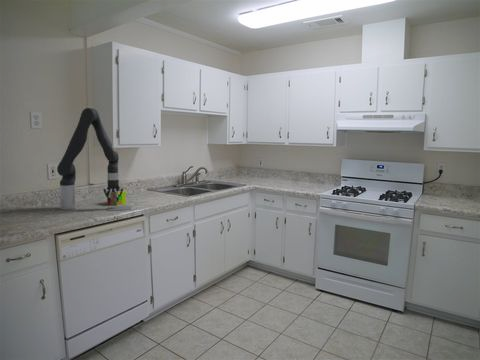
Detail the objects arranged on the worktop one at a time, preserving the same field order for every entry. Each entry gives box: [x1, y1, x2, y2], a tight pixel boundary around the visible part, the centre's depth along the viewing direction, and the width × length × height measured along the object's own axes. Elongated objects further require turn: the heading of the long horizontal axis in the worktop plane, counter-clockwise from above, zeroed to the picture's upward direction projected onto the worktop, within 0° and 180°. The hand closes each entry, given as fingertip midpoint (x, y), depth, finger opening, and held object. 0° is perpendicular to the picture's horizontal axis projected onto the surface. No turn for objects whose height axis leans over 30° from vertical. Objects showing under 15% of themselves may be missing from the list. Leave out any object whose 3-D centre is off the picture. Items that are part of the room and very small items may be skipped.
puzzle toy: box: [106, 189, 127, 206], centre depth 254 cm, size 10×10×10 cm
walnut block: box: [110, 192, 118, 207], centre depth 236 cm, size 4×4×10 cm
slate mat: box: [107, 205, 132, 212], centre depth 238 cm, size 16×12×1 cm
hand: (113, 202), depth 236 cm, fingers closed on walnut block, 4 cm apart
